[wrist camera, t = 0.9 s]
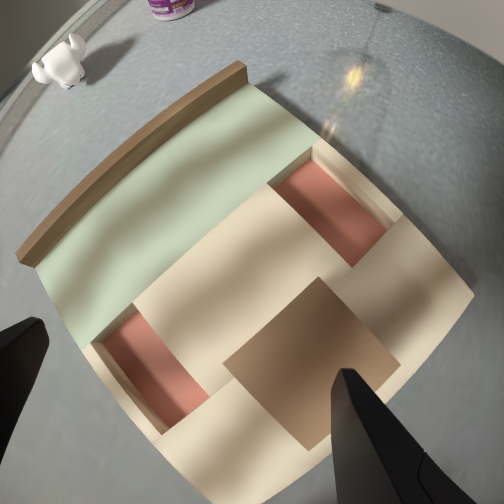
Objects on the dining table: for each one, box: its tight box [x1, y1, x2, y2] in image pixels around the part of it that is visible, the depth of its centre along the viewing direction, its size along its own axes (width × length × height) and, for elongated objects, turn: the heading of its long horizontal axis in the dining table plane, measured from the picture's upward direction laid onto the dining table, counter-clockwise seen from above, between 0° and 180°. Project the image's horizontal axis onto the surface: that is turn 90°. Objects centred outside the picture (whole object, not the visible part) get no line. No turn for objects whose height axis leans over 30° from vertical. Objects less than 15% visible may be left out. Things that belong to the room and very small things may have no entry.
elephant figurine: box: [32, 33, 86, 89], centre depth 26 cm, size 7×8×6 cm
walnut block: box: [222, 276, 401, 452], centre depth 16 cm, size 6×6×5 cm
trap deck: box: [15, 60, 475, 504], centre depth 20 cm, size 25×23×4 cm
